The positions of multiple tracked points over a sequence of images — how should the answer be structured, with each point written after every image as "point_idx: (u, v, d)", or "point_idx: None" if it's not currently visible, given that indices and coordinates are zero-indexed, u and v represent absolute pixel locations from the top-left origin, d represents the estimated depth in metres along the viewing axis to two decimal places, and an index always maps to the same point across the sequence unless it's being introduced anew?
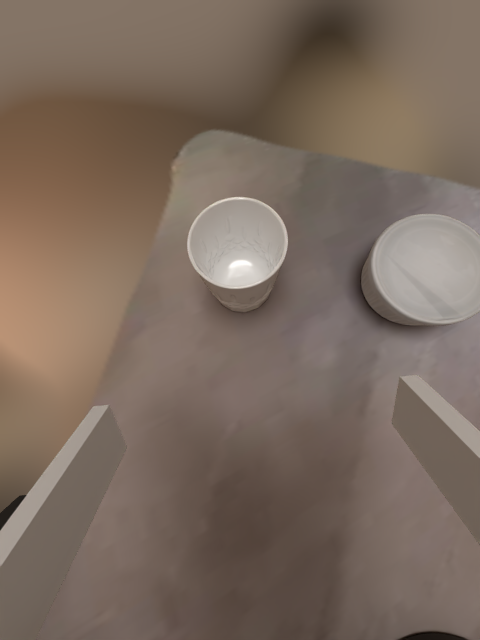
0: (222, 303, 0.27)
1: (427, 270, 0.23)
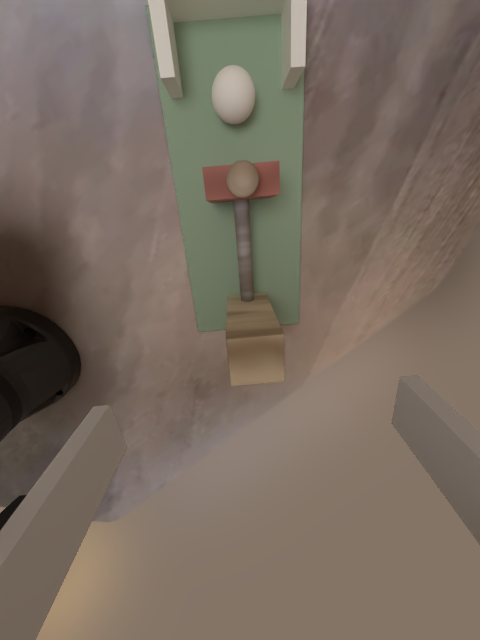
0: None
1: None
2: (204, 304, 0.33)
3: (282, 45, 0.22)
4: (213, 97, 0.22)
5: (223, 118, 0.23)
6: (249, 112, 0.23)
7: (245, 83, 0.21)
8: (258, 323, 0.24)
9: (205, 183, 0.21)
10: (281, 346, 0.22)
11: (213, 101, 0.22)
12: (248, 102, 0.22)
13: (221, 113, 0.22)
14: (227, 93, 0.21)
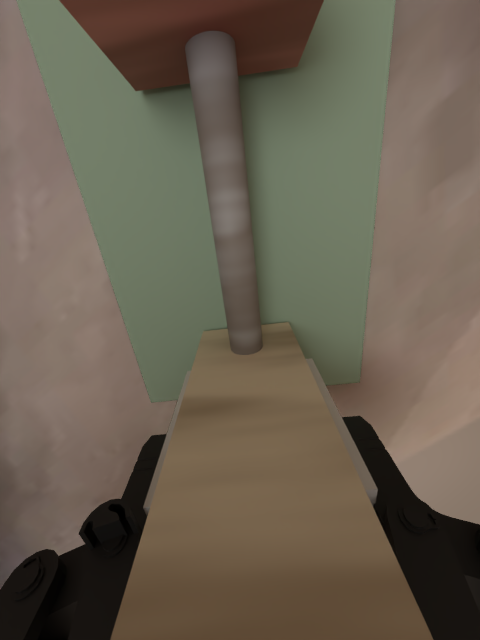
0: None
1: None
2: (156, 350, 0.15)
3: None
4: None
5: None
6: None
7: None
8: (281, 492, 0.06)
9: None
10: None
11: None
12: None
13: None
14: None
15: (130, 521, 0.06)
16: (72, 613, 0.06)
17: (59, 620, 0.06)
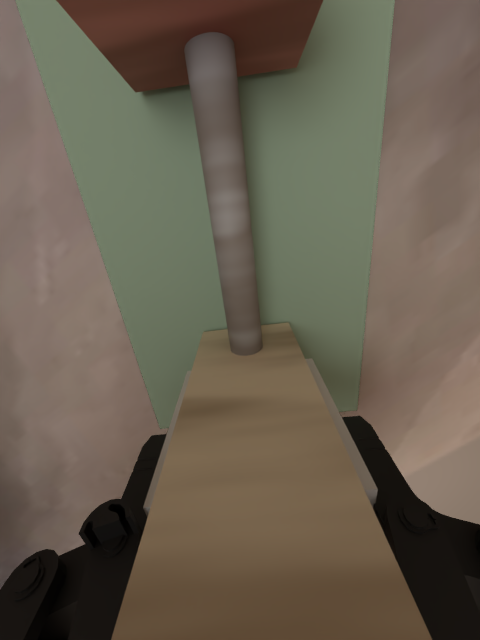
0: None
1: None
2: (165, 382, 0.16)
3: None
4: None
5: None
6: None
7: None
8: (280, 493, 0.06)
9: None
10: None
11: None
12: None
13: None
14: None
15: (130, 521, 0.06)
16: (72, 613, 0.06)
17: (59, 620, 0.06)
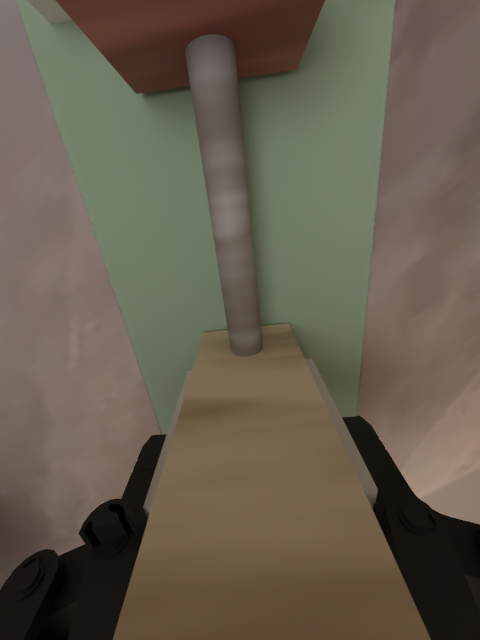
0: None
1: None
2: None
3: None
4: None
5: None
6: None
7: None
8: (281, 494, 0.06)
9: None
10: None
11: None
12: None
13: None
14: None
15: (130, 521, 0.06)
16: (73, 613, 0.06)
17: (59, 621, 0.06)
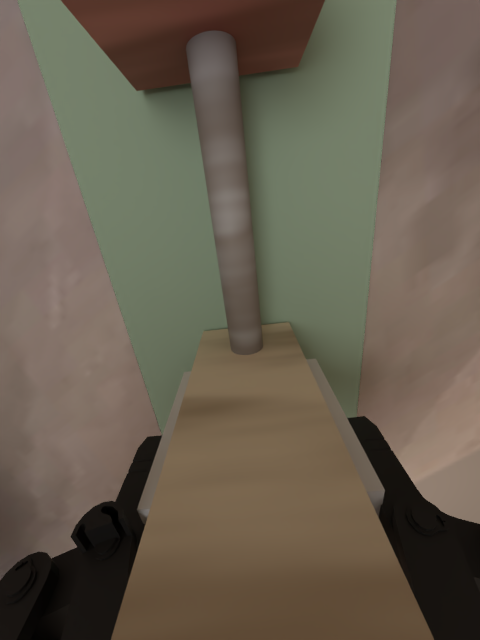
0: None
1: None
2: (171, 401, 0.17)
3: None
4: None
5: None
6: None
7: None
8: (281, 492, 0.06)
9: None
10: None
11: None
12: None
13: None
14: None
15: (123, 523, 0.06)
16: (65, 617, 0.06)
17: (51, 624, 0.06)
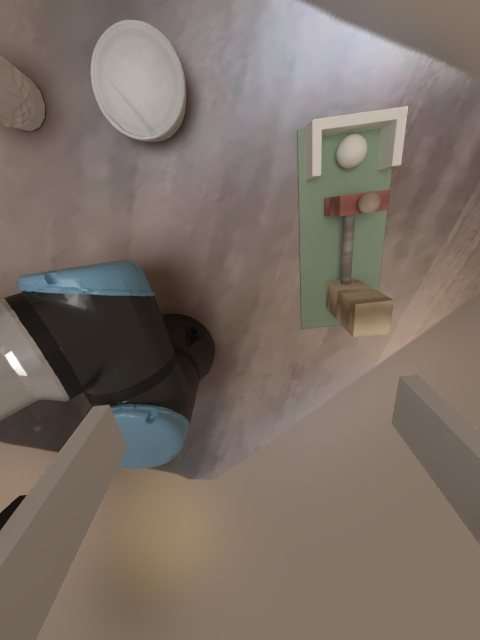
0: None
1: (133, 89, 0.30)
2: (308, 309, 0.46)
3: (381, 147, 0.36)
4: (339, 146, 0.34)
5: (348, 147, 0.33)
6: (366, 144, 0.33)
7: None
8: (369, 295, 0.35)
9: (340, 205, 0.33)
10: (390, 308, 0.33)
11: (339, 148, 0.34)
12: (364, 138, 0.33)
13: (346, 144, 0.33)
14: (349, 135, 0.34)
15: None
16: None
17: None
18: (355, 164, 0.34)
